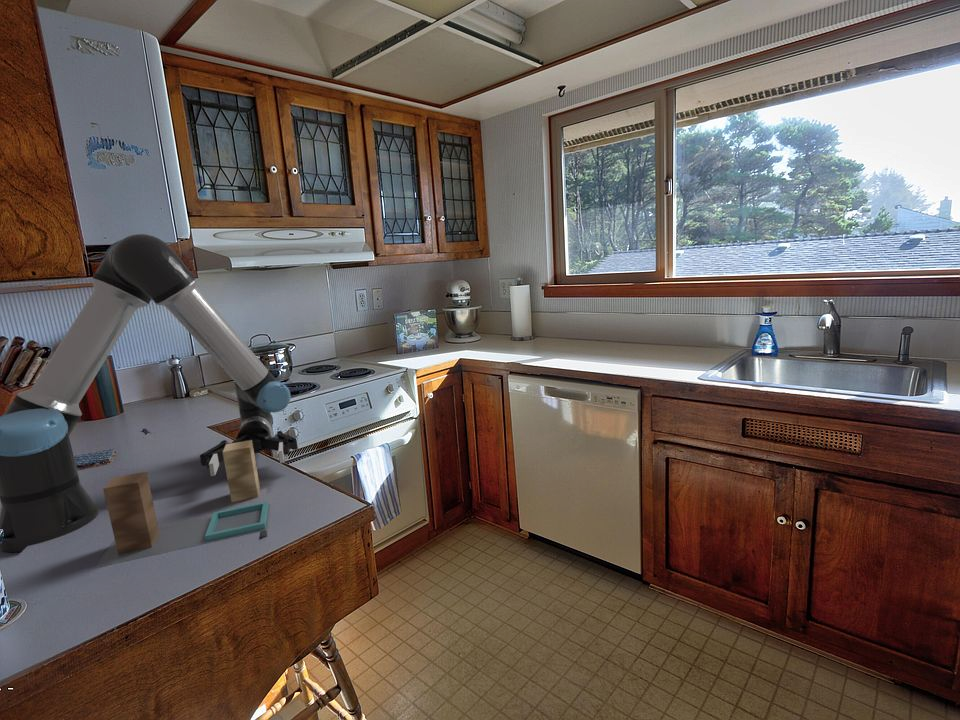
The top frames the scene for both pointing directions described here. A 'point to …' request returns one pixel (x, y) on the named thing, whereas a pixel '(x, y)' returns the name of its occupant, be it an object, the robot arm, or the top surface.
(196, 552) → the top surface
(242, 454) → the oak pillar
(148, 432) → the chef's knife
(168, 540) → the build plate
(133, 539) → the walnut pillar
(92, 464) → the woven mat
